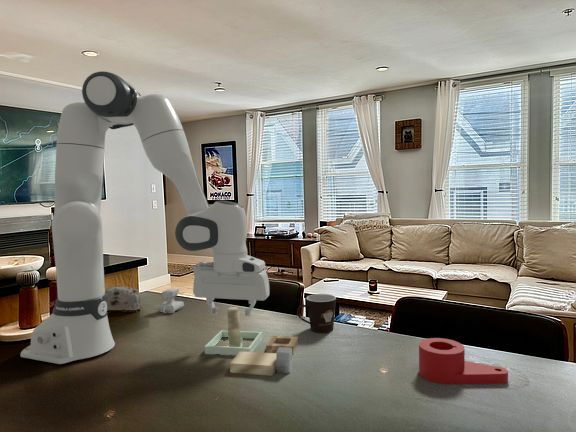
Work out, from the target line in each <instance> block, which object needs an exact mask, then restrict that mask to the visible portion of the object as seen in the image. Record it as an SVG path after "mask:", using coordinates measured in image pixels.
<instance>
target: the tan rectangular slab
mask: <svg viewBox="0 0 576 432" xmlns="http://www.w3.org/2000/svg"><path fill="white" fill-rule="evenodd" d="M229 370H230V372H231V373H233V374H243V373H244V374H245V375H259V376H271V377H272V376H274V374H275V372H277V357H276V353H266V352H257V351H256V352H255V351H253V352H243V351H240V352H239V353H238V354H237V355H236V356H234V357H233V359H232V360H231V361H230V362H229ZM244 374H243V375H244Z"/></svg>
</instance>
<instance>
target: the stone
mask: <svg viewBox="0 0 576 432" xmlns="http://www.w3.org/2000/svg"><path fill="white" fill-rule="evenodd" d="M105 293H107V301H108V310H123V309H124V310H137V309H139V308H140V309H141V306H140V305H141V303H140V301H139V299H140V291H139V290H138V289H135V288H133V287H130V286H109V287H107V289H106V288H105Z"/></svg>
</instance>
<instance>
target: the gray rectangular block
mask: <svg viewBox="0 0 576 432" xmlns="http://www.w3.org/2000/svg"><path fill="white" fill-rule="evenodd" d="M276 357H277V369H276V372H277V373H282V374H283V373H284V374H290V373H291V372H292V369H293V354H292V348H287V347H279V348H278V350H277V352H276Z"/></svg>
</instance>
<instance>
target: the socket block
mask: <svg viewBox="0 0 576 432" xmlns="http://www.w3.org/2000/svg"><path fill="white" fill-rule="evenodd" d="M298 345H299V336H290V335H289V336H287V335H272V336H271V337H270V339H269V341H268V342H267V344H266V345H265V346H266V348H265V349H266V350H265V351H266V352H265V353H276V352H277V350H278V348H279V347H287V348H292V355H294V354H295V352H296V350H297V348H298Z"/></svg>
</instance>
